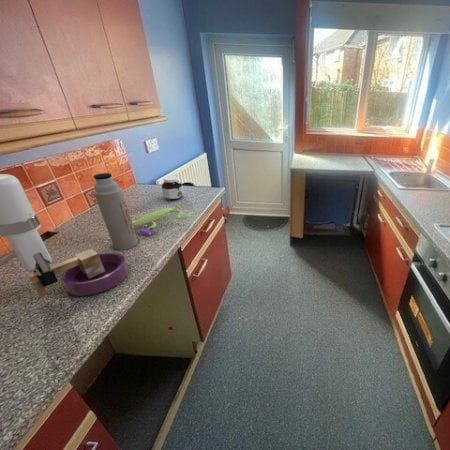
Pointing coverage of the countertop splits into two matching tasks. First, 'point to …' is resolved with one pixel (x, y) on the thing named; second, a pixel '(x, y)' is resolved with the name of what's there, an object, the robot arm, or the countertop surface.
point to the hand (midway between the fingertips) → (48, 281)
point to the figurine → (155, 216)
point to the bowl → (99, 283)
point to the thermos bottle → (114, 212)
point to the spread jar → (172, 188)
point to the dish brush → (85, 260)
